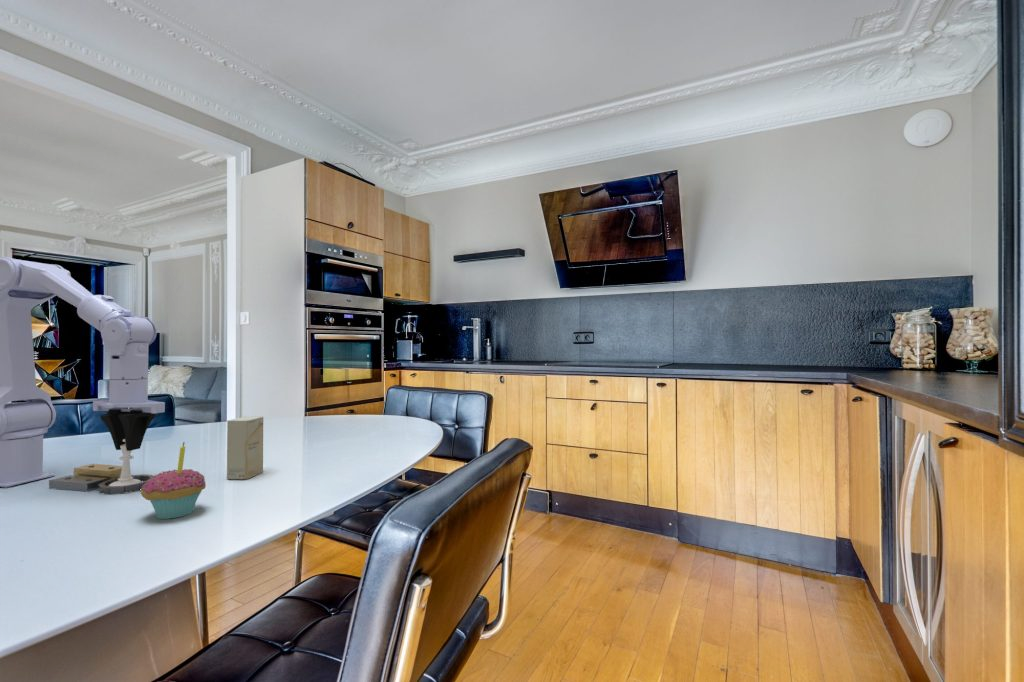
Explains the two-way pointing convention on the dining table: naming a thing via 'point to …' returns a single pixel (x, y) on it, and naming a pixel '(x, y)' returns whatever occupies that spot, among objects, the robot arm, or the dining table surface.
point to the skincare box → (244, 447)
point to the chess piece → (125, 469)
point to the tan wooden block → (99, 471)
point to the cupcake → (174, 490)
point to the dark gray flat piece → (96, 484)
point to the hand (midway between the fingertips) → (128, 449)
